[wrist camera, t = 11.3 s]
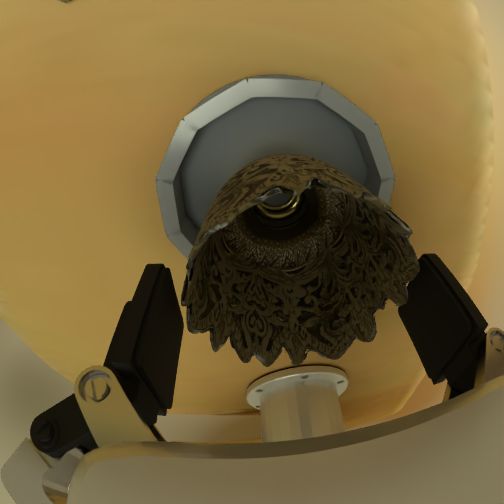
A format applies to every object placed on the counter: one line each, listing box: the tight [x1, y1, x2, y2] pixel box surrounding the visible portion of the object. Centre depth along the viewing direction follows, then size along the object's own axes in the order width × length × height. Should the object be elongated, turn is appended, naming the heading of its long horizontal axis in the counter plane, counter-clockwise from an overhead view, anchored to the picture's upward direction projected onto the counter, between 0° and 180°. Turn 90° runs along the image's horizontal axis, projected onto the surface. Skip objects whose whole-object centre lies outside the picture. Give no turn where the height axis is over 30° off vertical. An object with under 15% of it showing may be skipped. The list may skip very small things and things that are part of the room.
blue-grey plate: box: [155, 75, 395, 260], centre depth 14 cm, size 12×12×2 cm
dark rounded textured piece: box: [181, 154, 420, 367], centre depth 11 cm, size 8×7×8 cm
